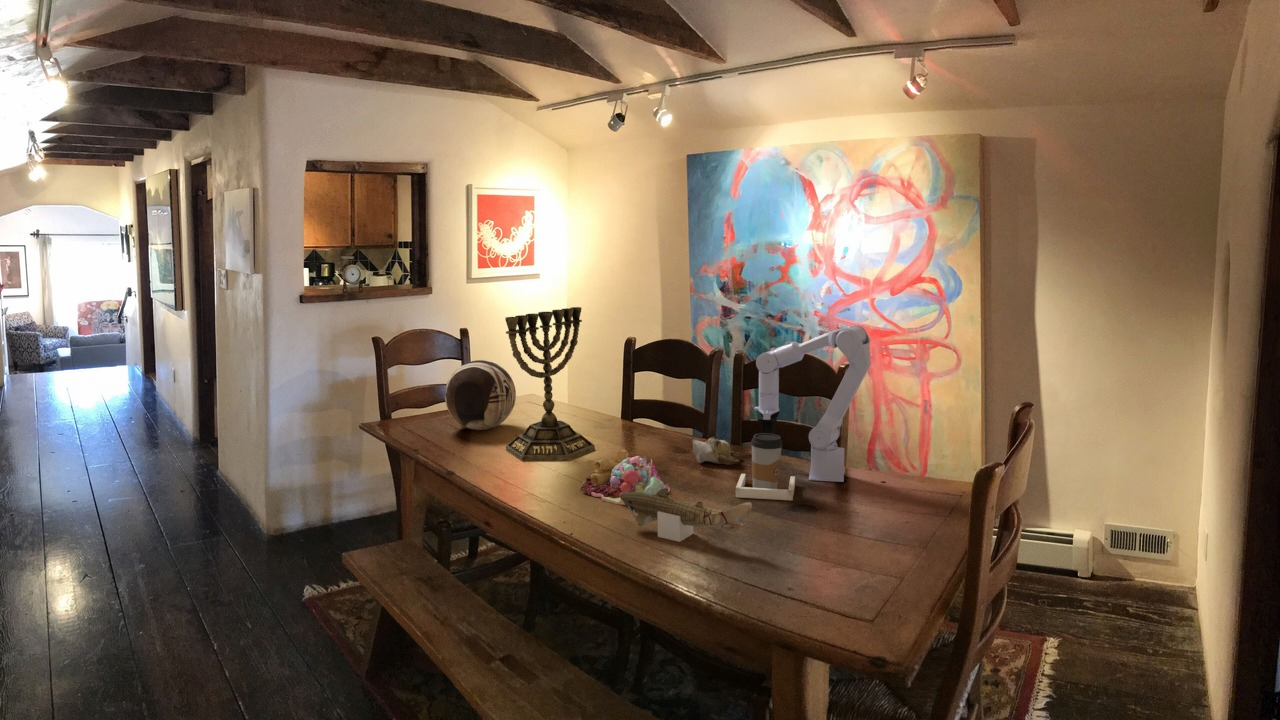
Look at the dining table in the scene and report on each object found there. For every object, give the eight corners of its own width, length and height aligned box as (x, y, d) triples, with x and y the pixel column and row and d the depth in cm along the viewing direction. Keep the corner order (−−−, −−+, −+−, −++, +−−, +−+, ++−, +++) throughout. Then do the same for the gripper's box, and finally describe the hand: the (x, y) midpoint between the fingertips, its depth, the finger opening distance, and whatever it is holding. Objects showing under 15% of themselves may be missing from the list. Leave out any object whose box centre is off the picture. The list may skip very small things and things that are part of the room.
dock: (794, 485, 228) (795, 476, 228) (792, 500, 215) (792, 491, 215) (741, 482, 231) (741, 473, 231) (735, 497, 219) (735, 488, 218)
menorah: (546, 469, 247) (540, 319, 240) (483, 458, 260) (476, 316, 253) (613, 441, 277) (610, 308, 270) (553, 433, 290) (549, 305, 283)
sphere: (435, 436, 288) (431, 366, 284) (462, 420, 313) (458, 354, 309) (504, 438, 284) (501, 366, 280) (525, 421, 309) (523, 355, 305)
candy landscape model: (565, 491, 227) (564, 458, 226) (623, 471, 245) (622, 441, 243) (633, 510, 211) (632, 475, 209) (690, 488, 228) (689, 455, 227)
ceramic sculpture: (694, 429, 256) (743, 433, 253) (693, 456, 257) (741, 461, 255) (691, 438, 245) (741, 443, 243) (689, 466, 247) (739, 471, 245)
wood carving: (742, 559, 178) (742, 509, 176) (611, 528, 198) (610, 483, 196) (760, 545, 185) (760, 498, 183) (632, 517, 205) (631, 473, 203)
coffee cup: (769, 497, 218) (772, 442, 215) (743, 490, 223) (745, 436, 221) (785, 490, 224) (788, 436, 221) (759, 483, 229) (762, 431, 227)
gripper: (757, 387, 247) (756, 431, 249) (752, 397, 233) (752, 444, 235) (781, 388, 246) (780, 432, 248) (777, 398, 232) (777, 445, 234)
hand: (768, 438), depth 241 cm, fingers open, 7 cm apart
